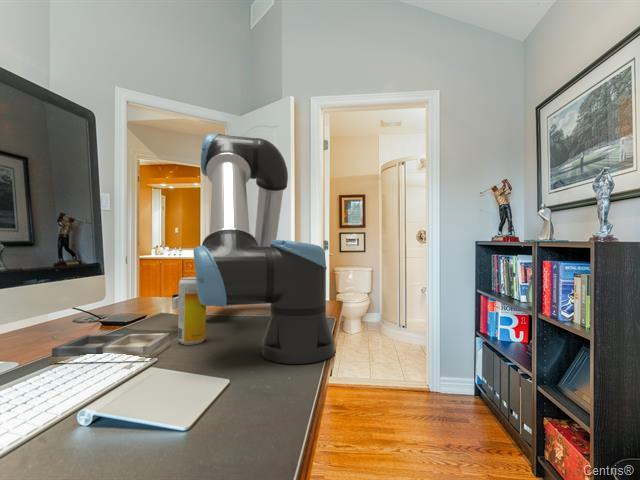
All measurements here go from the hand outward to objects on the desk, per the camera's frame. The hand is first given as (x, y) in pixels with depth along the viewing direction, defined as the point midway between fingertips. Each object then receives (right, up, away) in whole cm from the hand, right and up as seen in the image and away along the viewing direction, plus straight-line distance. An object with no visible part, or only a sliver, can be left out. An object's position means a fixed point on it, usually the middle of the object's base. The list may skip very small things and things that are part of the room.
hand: (200, 303), depth 83 cm
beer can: (+1, -8, -7) cm, 11 cm away
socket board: (-12, -7, -16) cm, 21 cm away
